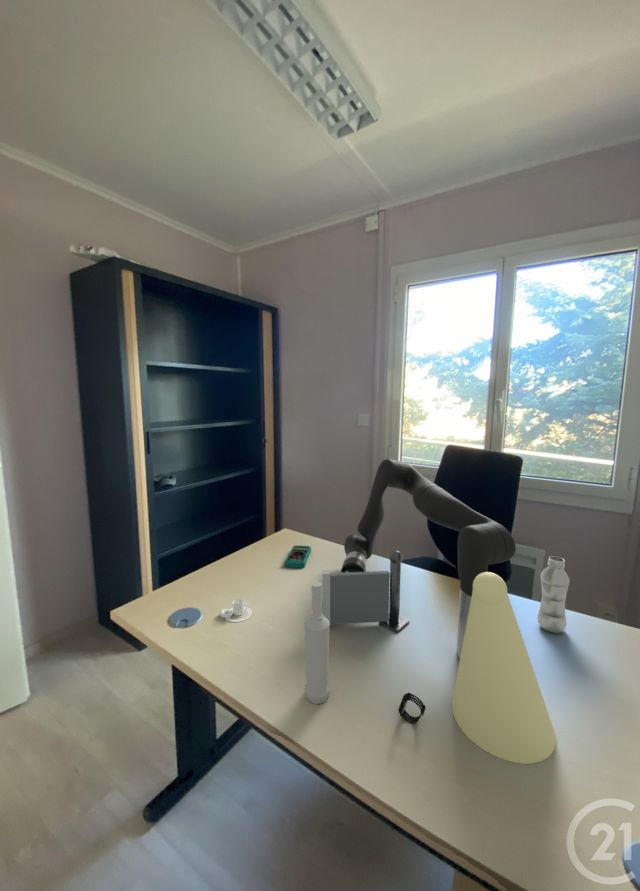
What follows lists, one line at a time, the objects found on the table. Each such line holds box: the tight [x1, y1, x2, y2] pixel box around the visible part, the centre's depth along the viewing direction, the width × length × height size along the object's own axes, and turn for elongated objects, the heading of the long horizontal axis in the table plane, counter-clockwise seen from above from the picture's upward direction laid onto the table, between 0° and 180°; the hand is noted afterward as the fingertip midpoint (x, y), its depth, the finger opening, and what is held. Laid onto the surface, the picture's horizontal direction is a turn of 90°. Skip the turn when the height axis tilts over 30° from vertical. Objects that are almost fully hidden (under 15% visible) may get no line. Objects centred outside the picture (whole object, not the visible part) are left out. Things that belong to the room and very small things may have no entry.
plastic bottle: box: [537, 555, 571, 634], centre depth 99 cm, size 6×7×20 cm
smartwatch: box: [398, 692, 426, 725], centre depth 72 cm, size 4×5×5 cm
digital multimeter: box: [284, 545, 312, 569], centre depth 143 cm, size 8×15×3 cm, turn 172°
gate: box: [322, 569, 390, 626], centre depth 101 cm, size 18×2×15 cm, turn 94°
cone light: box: [451, 571, 557, 765], centre depth 68 cm, size 25×18×35 cm
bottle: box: [304, 581, 330, 705], centre depth 77 cm, size 5×5×25 cm
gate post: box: [378, 549, 410, 634], centre depth 101 cm, size 6×6×21 cm
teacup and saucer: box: [219, 598, 253, 623], centre depth 107 cm, size 9×8×4 cm
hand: (347, 596), depth 102 cm, fingers closed
